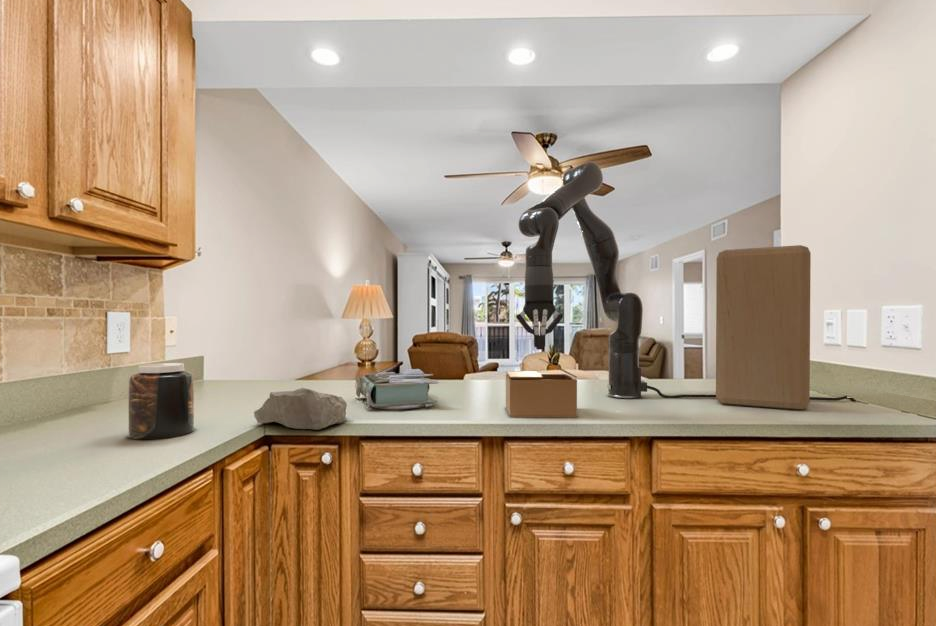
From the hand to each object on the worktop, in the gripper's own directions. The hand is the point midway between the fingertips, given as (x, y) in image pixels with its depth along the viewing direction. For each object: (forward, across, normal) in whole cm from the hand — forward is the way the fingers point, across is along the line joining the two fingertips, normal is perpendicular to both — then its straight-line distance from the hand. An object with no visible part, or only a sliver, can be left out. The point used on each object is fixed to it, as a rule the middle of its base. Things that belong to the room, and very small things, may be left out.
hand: (539, 349), depth 129 cm
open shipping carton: (+17, 0, 0) cm, 17 cm away
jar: (+16, +86, +24) cm, 91 cm away
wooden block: (+18, -68, -15) cm, 72 cm away
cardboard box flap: (+5, -5, 0) cm, 7 cm away
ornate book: (+17, +40, -15) cm, 46 cm away
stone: (+16, +59, +14) cm, 63 cm away
